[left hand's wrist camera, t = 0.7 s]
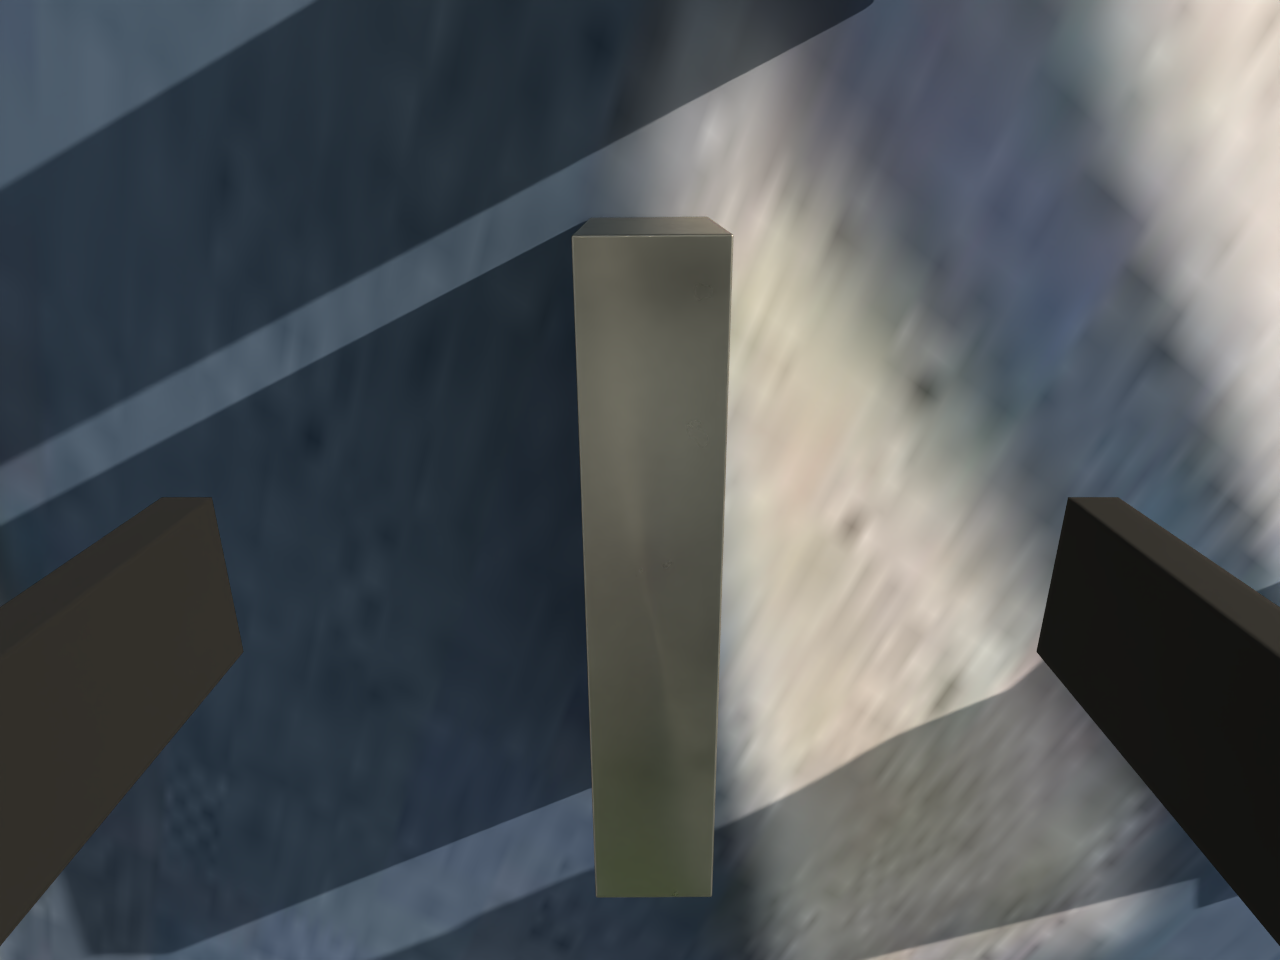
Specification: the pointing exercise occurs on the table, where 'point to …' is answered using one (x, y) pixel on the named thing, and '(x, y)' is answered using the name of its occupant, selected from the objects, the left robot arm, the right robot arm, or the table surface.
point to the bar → (653, 539)
